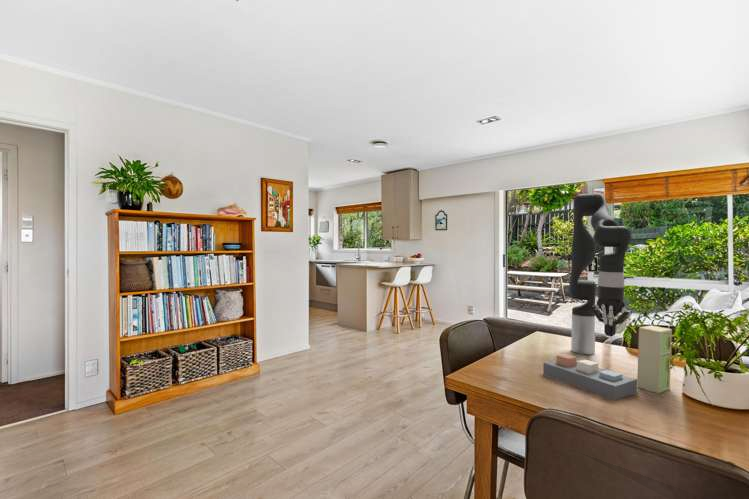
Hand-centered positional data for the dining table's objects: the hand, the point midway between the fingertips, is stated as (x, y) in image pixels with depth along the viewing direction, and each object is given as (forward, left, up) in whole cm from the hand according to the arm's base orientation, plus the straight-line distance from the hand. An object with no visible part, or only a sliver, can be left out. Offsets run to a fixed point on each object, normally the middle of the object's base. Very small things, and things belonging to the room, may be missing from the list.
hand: (609, 335), depth 126 cm
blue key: (0, +1, -17) cm, 17 cm away
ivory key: (0, -7, -15) cm, 17 cm away
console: (0, -7, -19) cm, 20 cm away
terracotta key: (0, -15, -15) cm, 22 cm away
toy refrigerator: (-16, +7, -19) cm, 26 cm away
